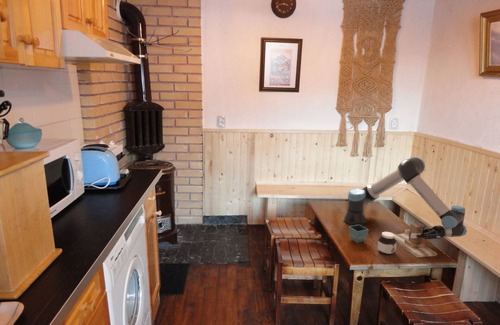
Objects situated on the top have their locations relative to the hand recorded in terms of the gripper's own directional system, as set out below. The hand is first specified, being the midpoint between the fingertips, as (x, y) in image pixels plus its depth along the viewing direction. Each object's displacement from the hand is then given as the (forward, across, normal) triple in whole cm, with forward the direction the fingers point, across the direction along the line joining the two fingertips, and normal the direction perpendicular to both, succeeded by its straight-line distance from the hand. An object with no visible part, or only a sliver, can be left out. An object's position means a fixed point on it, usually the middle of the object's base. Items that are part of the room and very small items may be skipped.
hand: (408, 234), depth 203 cm
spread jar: (+15, -1, -9) cm, 18 cm away
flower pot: (+25, +14, -9) cm, 30 cm away
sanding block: (-5, 0, -7) cm, 9 cm away
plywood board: (-5, +2, -9) cm, 10 cm away
